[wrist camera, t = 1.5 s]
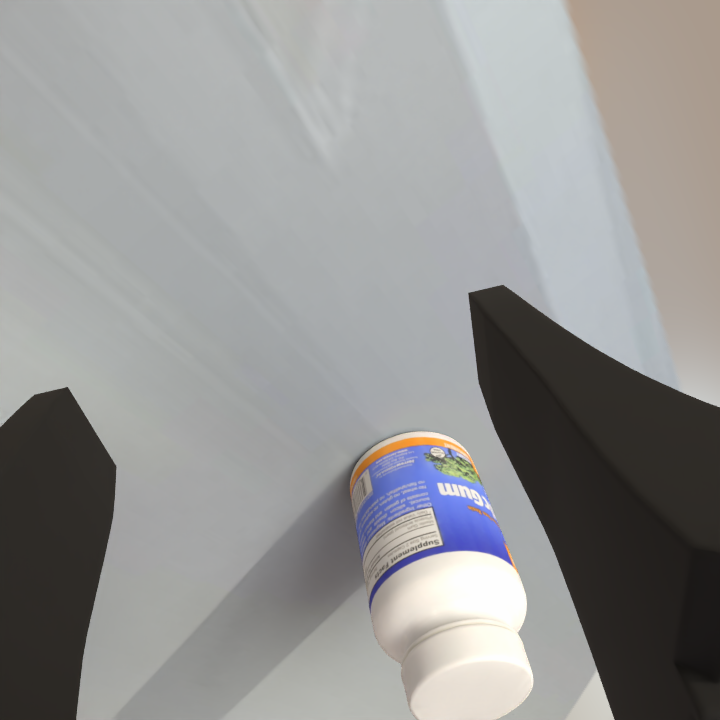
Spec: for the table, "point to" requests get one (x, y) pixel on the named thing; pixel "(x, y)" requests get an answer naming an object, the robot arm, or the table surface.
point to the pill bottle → (440, 579)
